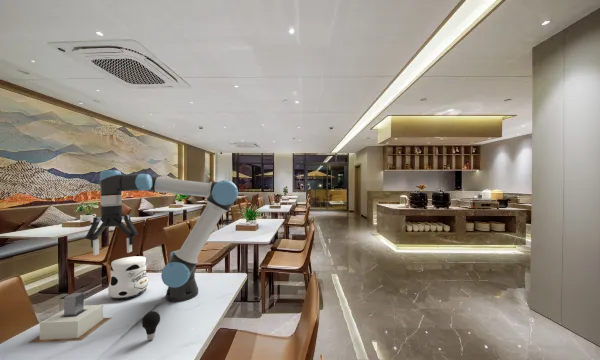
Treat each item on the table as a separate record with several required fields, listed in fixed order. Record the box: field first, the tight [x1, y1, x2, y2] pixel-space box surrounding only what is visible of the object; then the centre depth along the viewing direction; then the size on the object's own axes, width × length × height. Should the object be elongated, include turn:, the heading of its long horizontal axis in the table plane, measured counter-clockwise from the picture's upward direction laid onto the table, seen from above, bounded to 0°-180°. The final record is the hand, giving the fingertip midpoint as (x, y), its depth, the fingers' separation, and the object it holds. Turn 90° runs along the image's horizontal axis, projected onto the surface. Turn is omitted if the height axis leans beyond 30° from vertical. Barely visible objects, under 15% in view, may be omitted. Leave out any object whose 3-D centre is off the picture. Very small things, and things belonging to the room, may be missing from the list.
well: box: [39, 304, 104, 340], centre depth 98 cm, size 13×13×6 cm
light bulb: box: [141, 310, 161, 341], centre depth 92 cm, size 6×6×10 cm
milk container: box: [107, 255, 149, 300], centre depth 133 cm, size 17×17×18 cm
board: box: [27, 317, 113, 344], centre depth 98 cm, size 18×16×1 cm
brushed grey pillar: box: [63, 292, 85, 317], centre depth 98 cm, size 4×4×12 cm
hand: (113, 253), depth 111 cm, fingers open, 13 cm apart
